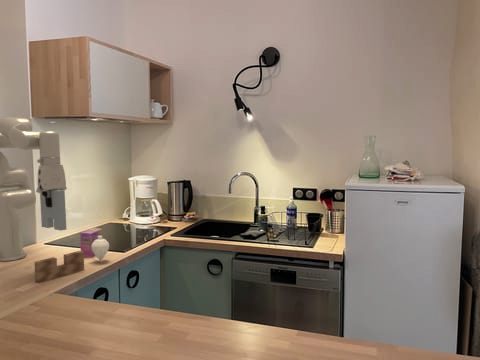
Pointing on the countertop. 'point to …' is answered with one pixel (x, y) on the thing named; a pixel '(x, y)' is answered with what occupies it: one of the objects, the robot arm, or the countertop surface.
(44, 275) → the walnut slotted plate
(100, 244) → the spinning top
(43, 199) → the grey slotted plate
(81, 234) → the box
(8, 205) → the robot arm
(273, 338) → the countertop surface
